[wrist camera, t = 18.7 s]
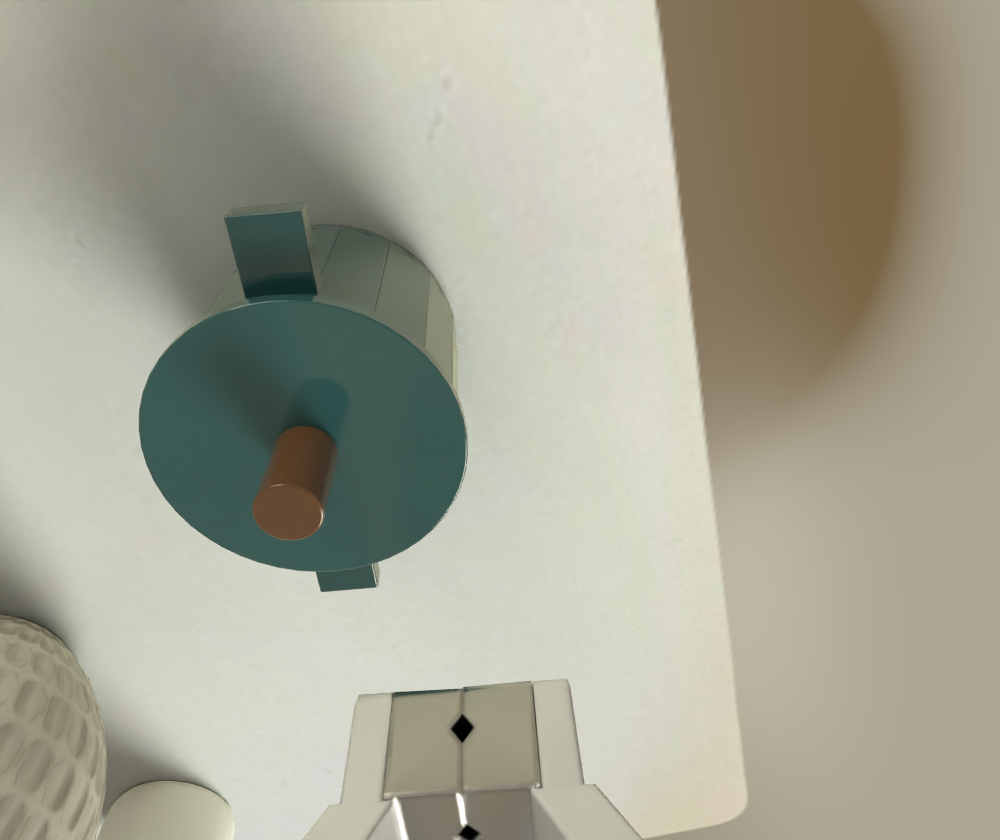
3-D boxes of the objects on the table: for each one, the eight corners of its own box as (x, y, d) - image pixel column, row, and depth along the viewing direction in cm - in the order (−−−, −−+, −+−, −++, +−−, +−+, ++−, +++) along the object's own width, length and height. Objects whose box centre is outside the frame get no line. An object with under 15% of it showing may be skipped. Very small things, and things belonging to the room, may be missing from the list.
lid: (451, 272, 24) (450, 333, 20) (479, 539, 30) (483, 627, 26) (104, 301, 24) (35, 368, 20) (199, 563, 30) (160, 655, 26)
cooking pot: (436, 146, 30) (429, 205, 23) (470, 472, 38) (474, 591, 31) (173, 168, 30) (83, 234, 23) (264, 489, 38) (219, 613, 31)
